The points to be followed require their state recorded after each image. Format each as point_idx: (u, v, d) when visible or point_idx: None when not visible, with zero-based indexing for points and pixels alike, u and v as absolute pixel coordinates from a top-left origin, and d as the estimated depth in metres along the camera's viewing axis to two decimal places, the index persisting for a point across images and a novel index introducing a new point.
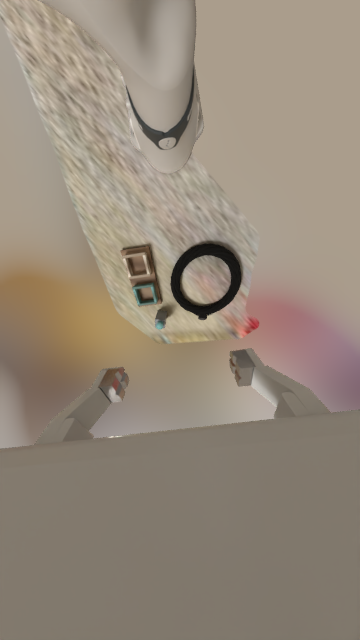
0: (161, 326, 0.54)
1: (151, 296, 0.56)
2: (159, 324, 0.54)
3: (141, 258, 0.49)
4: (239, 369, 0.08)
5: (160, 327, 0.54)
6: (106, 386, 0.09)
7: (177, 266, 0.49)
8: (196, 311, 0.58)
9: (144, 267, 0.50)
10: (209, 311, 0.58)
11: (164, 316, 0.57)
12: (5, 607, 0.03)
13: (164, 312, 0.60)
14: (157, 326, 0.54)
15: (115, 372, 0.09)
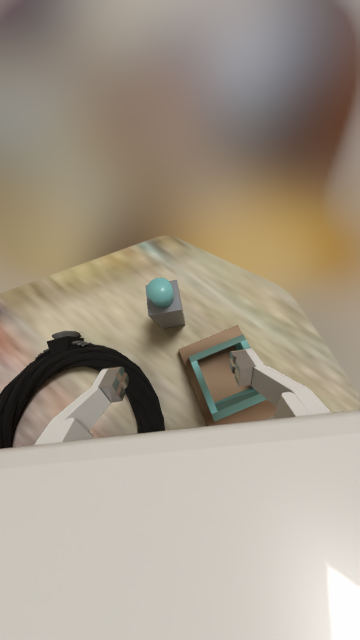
0: (151, 291, 0.15)
1: (209, 365, 0.20)
2: (160, 297, 0.14)
3: None
4: (239, 369, 0.08)
5: (154, 286, 0.15)
6: (106, 386, 0.09)
7: None
8: (76, 354, 0.21)
9: None
10: (42, 363, 0.21)
11: (158, 320, 0.19)
12: (4, 608, 0.03)
13: (164, 325, 0.22)
14: (166, 287, 0.14)
15: (115, 372, 0.09)
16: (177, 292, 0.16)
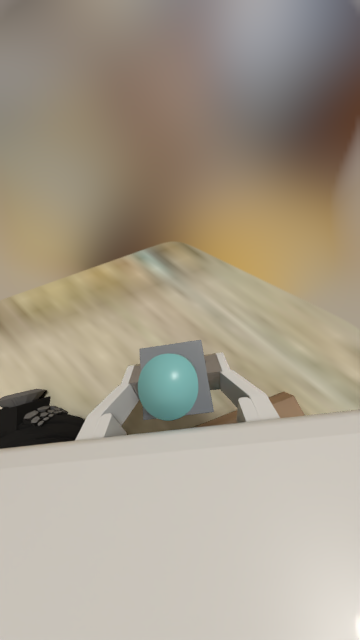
0: (150, 389, 0.06)
1: None
2: (170, 407, 0.06)
3: None
4: None
5: (157, 375, 0.06)
6: (136, 382, 0.09)
7: None
8: (28, 442, 0.12)
9: None
10: None
11: None
12: (4, 608, 0.03)
13: None
14: (184, 381, 0.06)
15: None
16: (203, 369, 0.08)
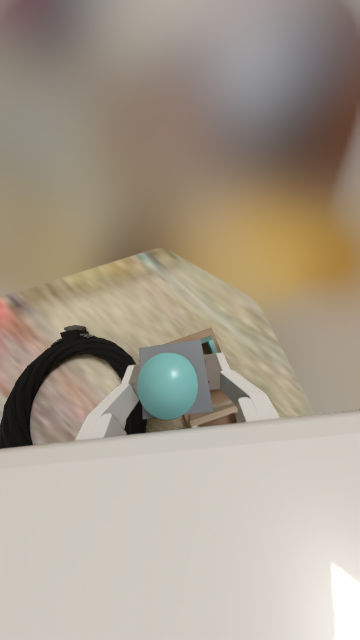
0: (149, 388, 0.06)
1: None
2: (169, 406, 0.06)
3: None
4: None
5: (157, 375, 0.06)
6: (136, 382, 0.09)
7: None
8: (83, 344, 0.26)
9: None
10: (56, 349, 0.27)
11: None
12: (4, 607, 0.03)
13: None
14: (183, 380, 0.06)
15: None
16: (203, 368, 0.08)
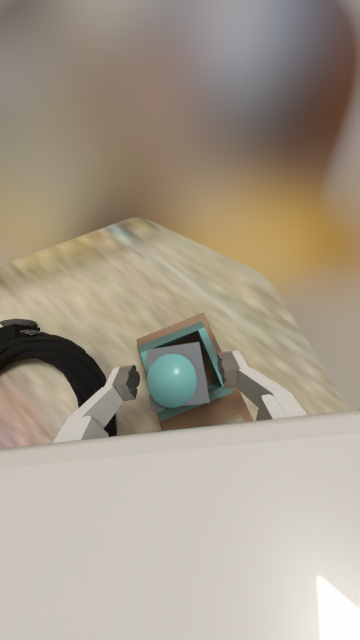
0: (157, 382, 0.08)
1: None
2: (173, 397, 0.07)
3: None
4: (224, 371, 0.08)
5: (163, 372, 0.08)
6: (120, 384, 0.09)
7: None
8: (22, 344, 0.18)
9: None
10: None
11: None
12: (4, 608, 0.03)
13: None
14: (185, 376, 0.08)
15: (128, 370, 0.09)
16: (201, 366, 0.09)
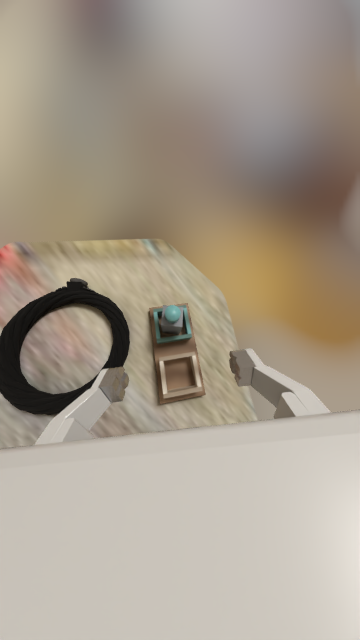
0: (168, 312, 0.24)
1: None
2: (172, 317, 0.24)
3: (173, 383, 0.30)
4: (239, 369, 0.08)
5: (170, 309, 0.24)
6: (106, 386, 0.09)
7: None
8: (85, 294, 0.32)
9: (170, 368, 0.31)
10: (60, 293, 0.32)
11: (164, 328, 0.28)
12: (4, 608, 0.03)
13: (165, 331, 0.31)
14: (177, 312, 0.24)
15: (115, 372, 0.09)
16: (182, 315, 0.26)
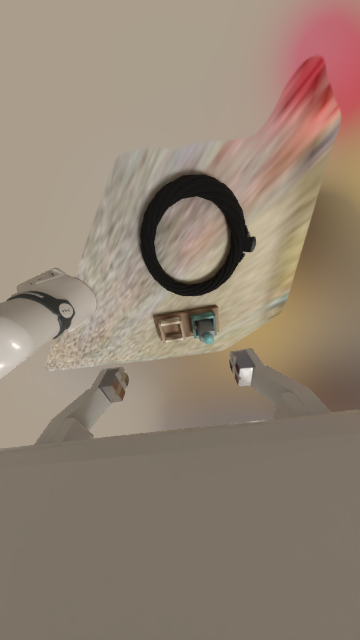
0: (209, 338, 0.39)
1: None
2: (205, 340, 0.39)
3: (166, 324, 0.48)
4: (239, 369, 0.08)
5: (210, 339, 0.39)
6: (106, 386, 0.09)
7: (170, 289, 0.40)
8: (236, 258, 0.36)
9: None
10: (240, 233, 0.33)
11: (200, 326, 0.43)
12: (4, 608, 0.03)
13: (198, 322, 0.46)
14: (208, 342, 0.40)
15: (115, 372, 0.09)
16: None
